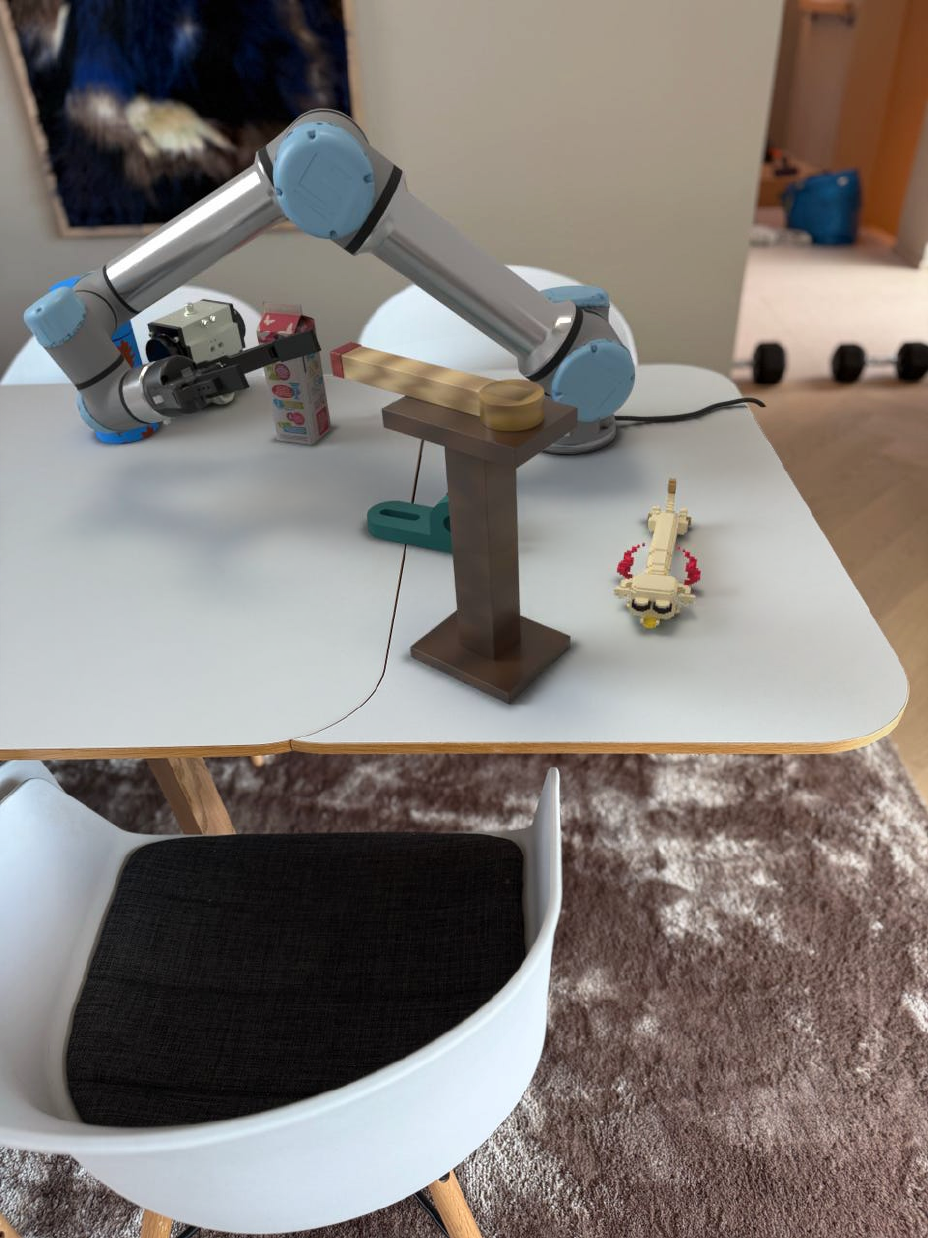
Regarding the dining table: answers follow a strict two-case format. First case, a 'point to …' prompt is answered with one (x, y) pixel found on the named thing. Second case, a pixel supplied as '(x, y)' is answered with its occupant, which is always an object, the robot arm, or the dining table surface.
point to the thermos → (130, 352)
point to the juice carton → (294, 379)
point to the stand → (485, 546)
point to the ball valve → (198, 335)
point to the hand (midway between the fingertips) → (281, 357)
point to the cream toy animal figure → (659, 568)
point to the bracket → (412, 524)
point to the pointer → (444, 387)
